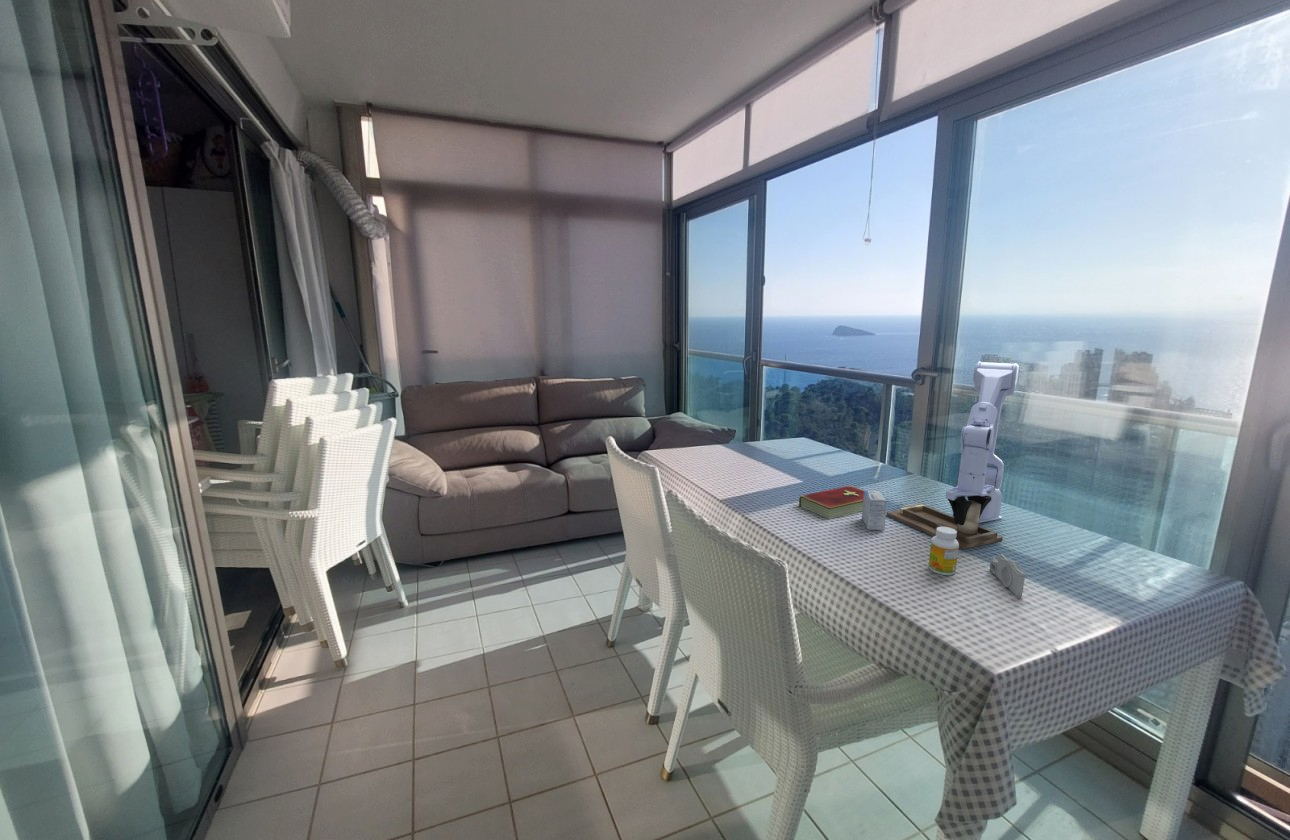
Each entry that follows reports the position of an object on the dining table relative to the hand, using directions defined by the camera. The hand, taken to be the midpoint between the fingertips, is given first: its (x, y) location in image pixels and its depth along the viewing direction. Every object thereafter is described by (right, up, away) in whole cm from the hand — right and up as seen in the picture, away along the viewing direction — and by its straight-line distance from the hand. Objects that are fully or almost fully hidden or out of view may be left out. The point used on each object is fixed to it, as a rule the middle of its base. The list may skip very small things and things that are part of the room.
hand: (966, 522), depth 134 cm
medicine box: (-20, -3, +9) cm, 22 cm away
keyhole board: (-2, -3, +7) cm, 8 cm away
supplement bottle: (-16, -8, -16) cm, 24 cm away
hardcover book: (-24, 0, +23) cm, 33 cm away
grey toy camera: (-5, -9, -22) cm, 24 cm away
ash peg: (0, -3, 0) cm, 3 cm away
